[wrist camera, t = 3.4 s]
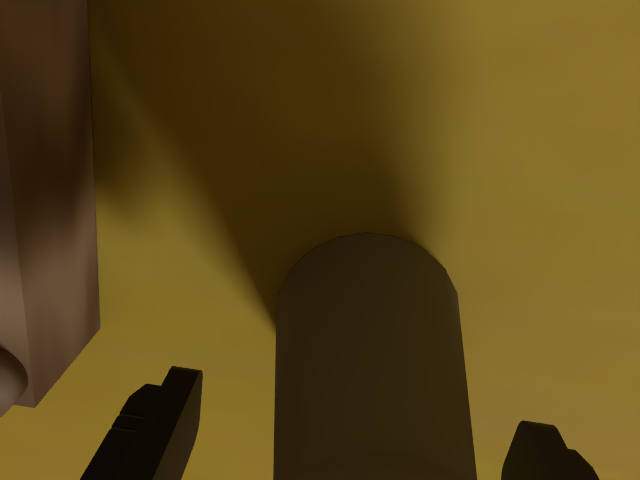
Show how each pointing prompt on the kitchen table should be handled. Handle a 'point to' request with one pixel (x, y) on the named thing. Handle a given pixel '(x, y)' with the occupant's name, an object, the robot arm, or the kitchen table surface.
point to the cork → (370, 366)
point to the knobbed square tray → (45, 196)
